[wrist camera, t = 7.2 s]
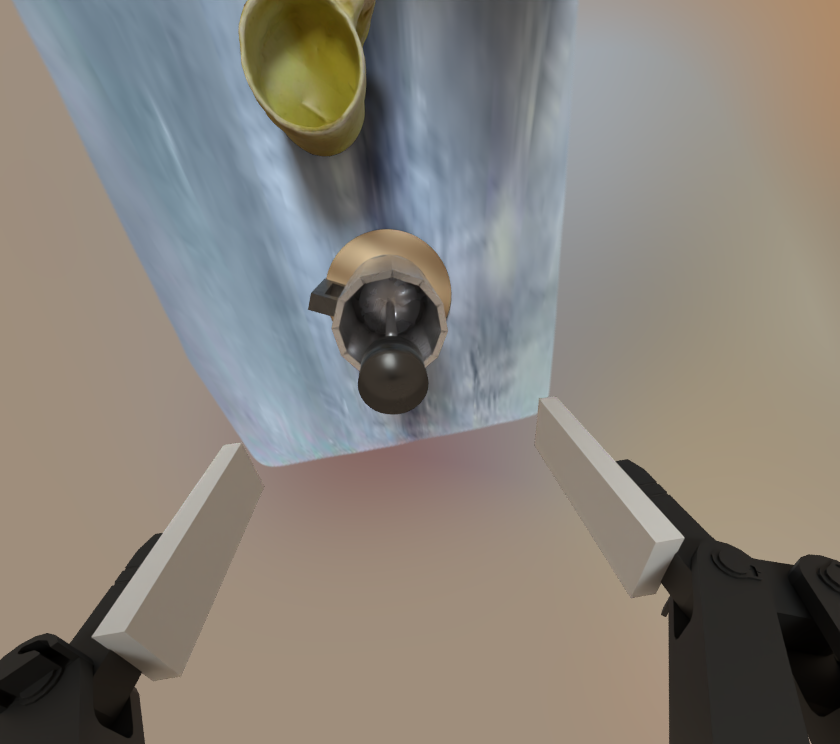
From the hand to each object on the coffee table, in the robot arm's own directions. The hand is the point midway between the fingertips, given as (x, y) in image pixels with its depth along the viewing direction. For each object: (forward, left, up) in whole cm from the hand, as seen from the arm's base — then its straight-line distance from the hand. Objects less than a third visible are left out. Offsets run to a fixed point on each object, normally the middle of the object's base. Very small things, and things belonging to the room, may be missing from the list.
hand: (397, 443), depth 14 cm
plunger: (0, 0, -26) cm, 26 cm away
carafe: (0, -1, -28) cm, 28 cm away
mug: (-18, -11, -29) cm, 36 cm away
